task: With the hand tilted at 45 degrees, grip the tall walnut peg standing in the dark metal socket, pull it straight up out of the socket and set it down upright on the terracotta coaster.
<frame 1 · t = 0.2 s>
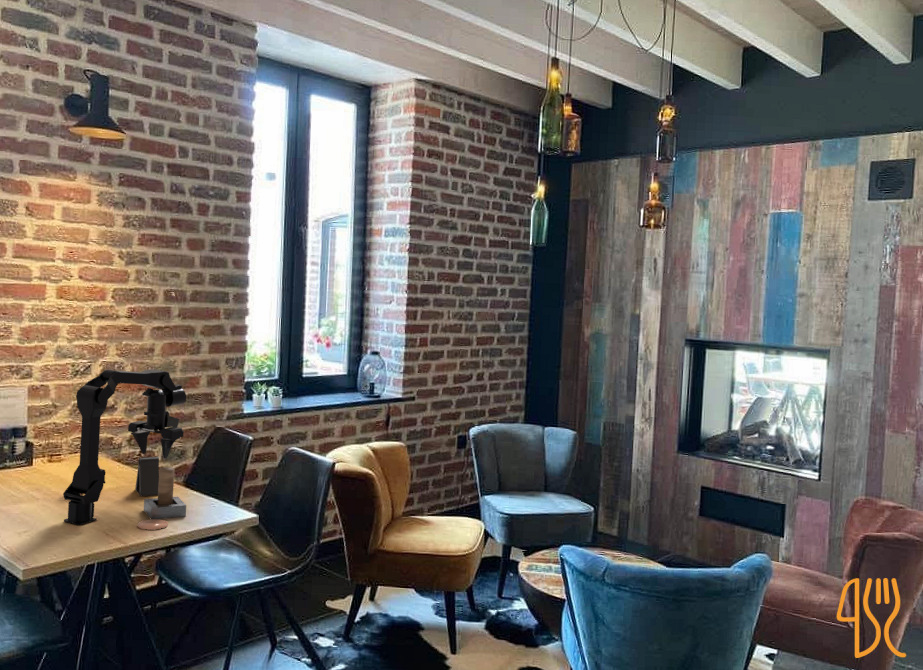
hand: (154, 455, 256), 15 cm above the table, tool pointing down, fingers open, 9 cm apart
metal socket: (164, 513, 245), on the table
terracotta coaster: (152, 525, 232), on the table
strawberry: (82, 494, 258), on the table
door stopper: (147, 493, 266), on the table
walnut peg: (165, 491, 244), in the metal socket
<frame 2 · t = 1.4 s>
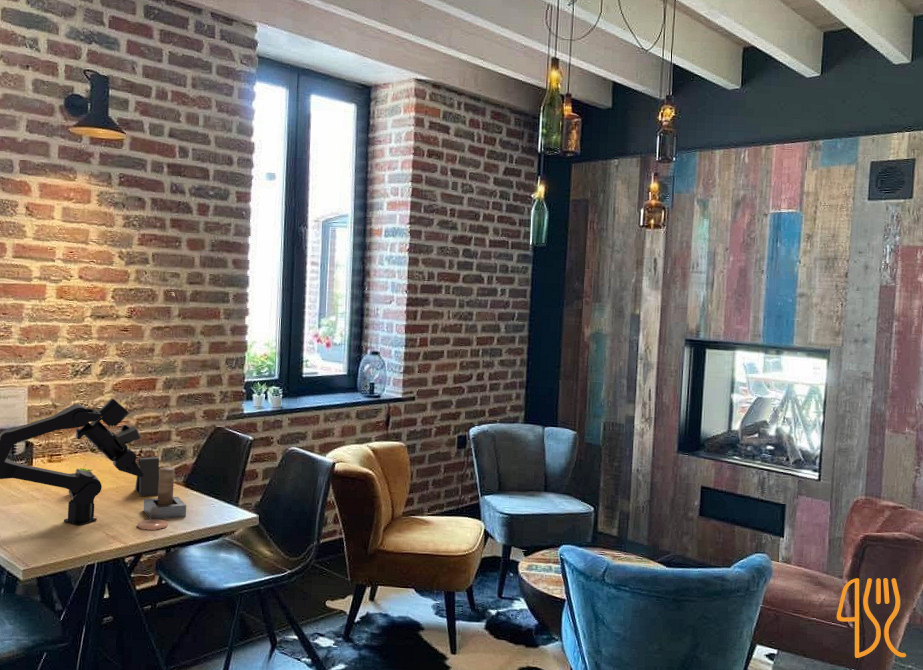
hand: (139, 472, 239), 13 cm above the table, tool tilted 45°, fingers open, 9 cm apart
nothing on the table moved.
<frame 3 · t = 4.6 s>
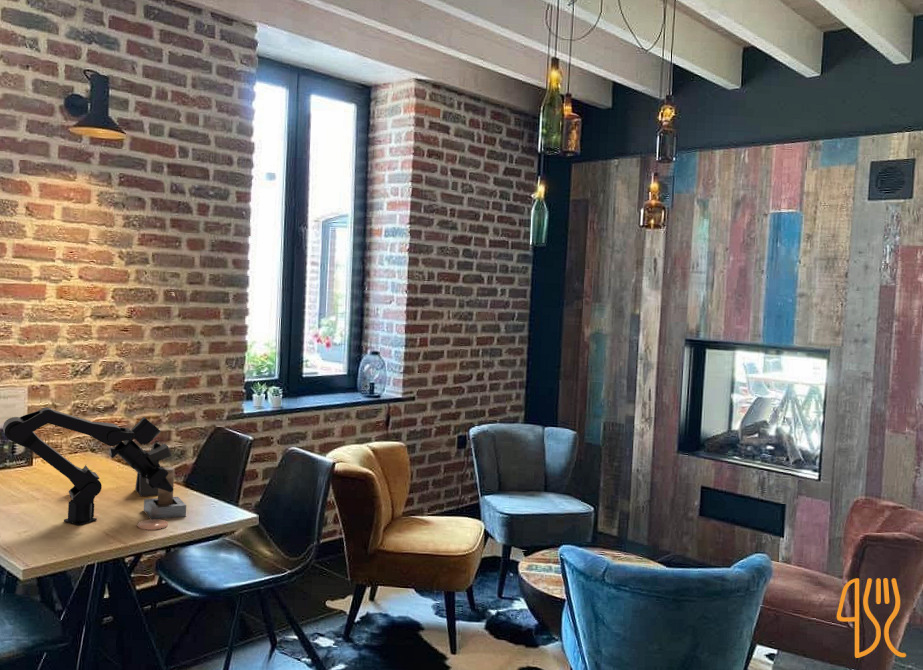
hand: (170, 488, 245), 8 cm above the table, tool tilted 45°, fingers closed on walnut peg, 4 cm apart
walnut peg: (165, 491, 244), in the metal socket, touching gripper
everything else where it was.
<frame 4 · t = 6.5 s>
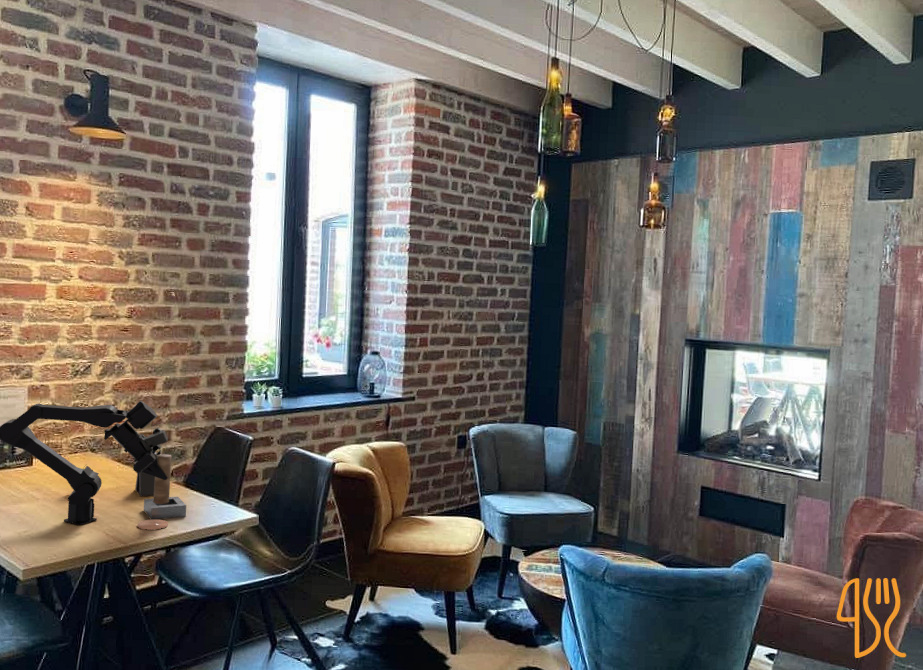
hand: (167, 477, 237), 13 cm above the table, tool tilted 45°, fingers closed on walnut peg, 4 cm apart
walnut peg: (162, 478, 236), point 13 cm above the table, touching gripper
everything else where it was.
when the fingers open (10 cm above the table, at t = 8.6 s): walnut peg drops 1 cm, resting on terracotta coaster.
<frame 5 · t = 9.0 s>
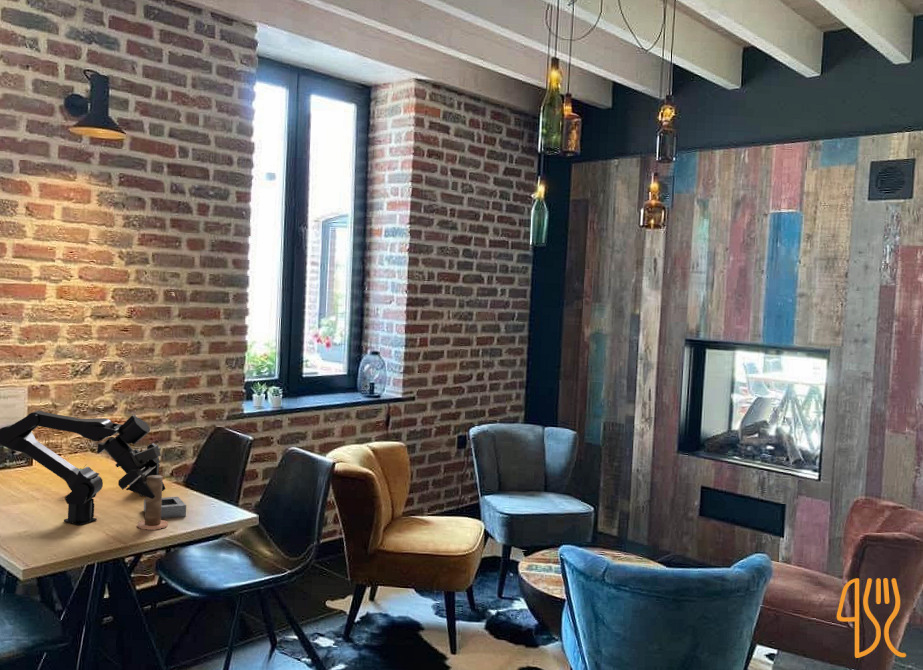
hand: (159, 493, 232), 10 cm above the table, tool tilted 45°, fingers open, 8 cm apart
walnut peg: (153, 500, 232), on the terracotta coaster, point 8 cm above the table
everything else where it was.
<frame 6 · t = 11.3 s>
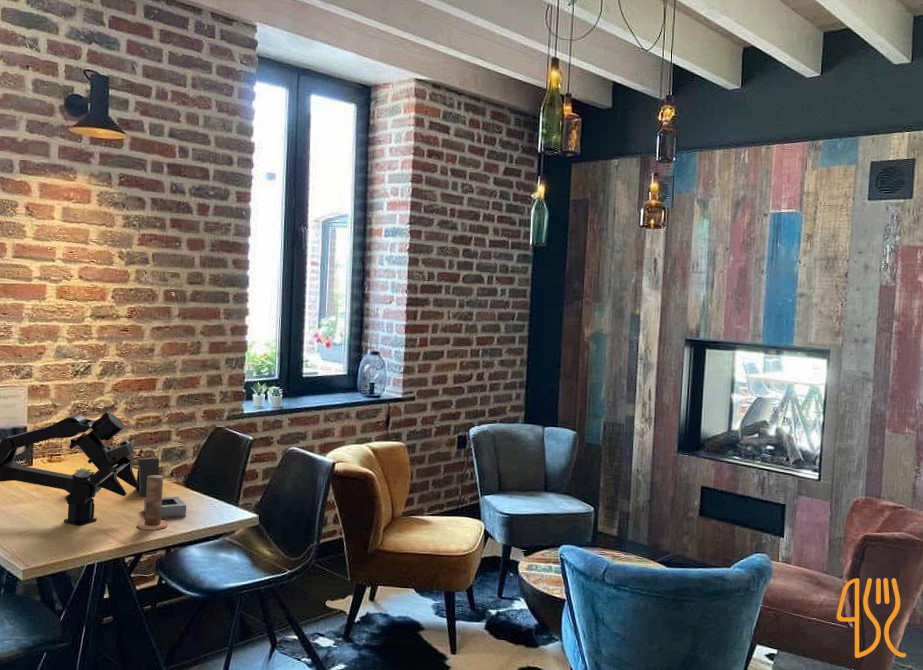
hand: (131, 491, 232), 10 cm above the table, tool tilted 45°, fingers open, 9 cm apart
nothing on the table moved.
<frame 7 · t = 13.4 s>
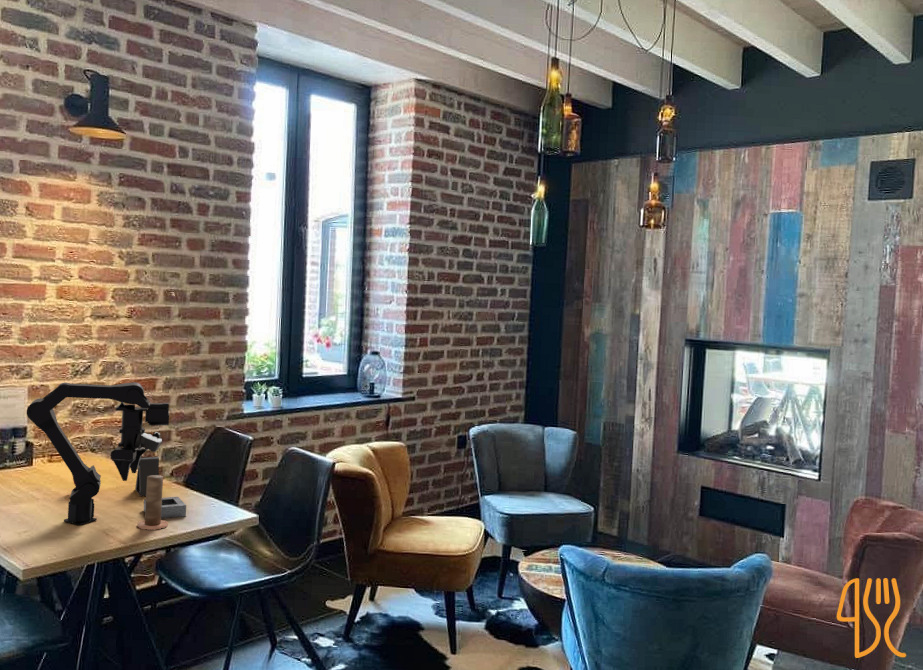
hand: (129, 476, 235), 13 cm above the table, tool pointing down, fingers open, 9 cm apart
nothing on the table moved.
at the end: walnut peg 0.1 cm off-centre on the terracotta coaster, point 7.6 cm above the terracotta coaster's base; walnut peg tilted 0°; the gripper is holding nothing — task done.
